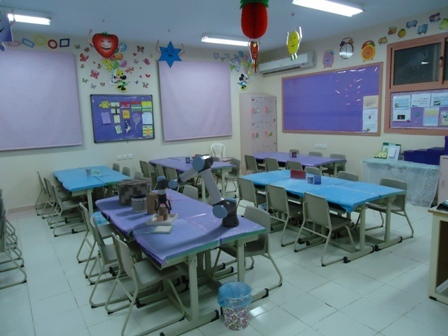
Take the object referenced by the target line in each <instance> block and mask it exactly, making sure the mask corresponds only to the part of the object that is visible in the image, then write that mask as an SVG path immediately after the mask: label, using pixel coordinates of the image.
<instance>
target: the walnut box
mask: <svg viewBox="0 0 448 336" xmlns="http://www.w3.org/2000/svg"><path fill="white" fill-rule="evenodd" d="M167 211H168V210H167V208H166V206H165V205H160V207H159V216H163V220H167V219H168V215H167Z"/></svg>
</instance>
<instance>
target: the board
mask: <svg viewBox="0 0 448 336" xmlns="http://www.w3.org/2000/svg"><path fill="white" fill-rule="evenodd" d="M175 227H176V225H155V227H154V228H153V229H152V230H151V232H150V235H151V234H153V235H159V234H160V235H164V234H166V235H167V234H171V233H172V231H173V229H174V228H175Z"/></svg>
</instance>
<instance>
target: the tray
mask: <svg viewBox="0 0 448 336" xmlns="http://www.w3.org/2000/svg"><path fill="white" fill-rule="evenodd" d="M157 216H158V214H157V213H156V214H152V215H151V216H150V218H149V219H147V220H146V221H145V225H146V226H173V224H174V223H175V221H176V220H177V219H178V217H179V213H170V214H169V218H168V219H167V220H163V221H164V222H157Z"/></svg>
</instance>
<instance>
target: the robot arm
mask: <svg viewBox="0 0 448 336" xmlns="http://www.w3.org/2000/svg"><path fill="white" fill-rule="evenodd" d="M214 161H215V160H214V158H213V156H212V155H211V154H210V153H209V154H207V153H204V154H201V155H197V156H195V157H194V158H193V159H192V162H191V166H192V167H190V168H189V169H187V170H185V171H184V172H182V173H181V174H179V175H178V176H177V177H173V178H169V179H167V178H166V176H164V175H162V176H160V175H159V176H157V177H156V184H157V186H156V187H157V193H158V199H156V200H155V209H154V210H156V211H157V213H156V214H158V216H159V207H160V206H162V204H163V205H164V206H166V208H167V215H168V218H169V214H171V211H172V210H173V209H172V203H171V199H170V198H169V199H168V197H167V188H168V189H176V188H177V187H178V186H181V185H183V184H185V182H187V181H189V180H190V179H191V178H193V177H195V176H196V175H200V176H201V179H202V180H203V183H204V185H205V188H206V189H207V192H208V195H209V196H210V198H211V201H212V203H211V205H212V209H211V210H212V214H213V217H215V218H217V219H220V220H221V219H222V220H221V226H222V227H225V228H235V227H237V226H239V225H240V220H239V217H238V205H237V204H238V202H237V199H236V198H235V197H223V196H222V193H221V192H220V189H219V187H218V184H217V182H216V179H215V177H214V176H213V174H212V166H213V165H214V163H215V162H214ZM158 201H159V205H158V207H157V202H158Z"/></svg>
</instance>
